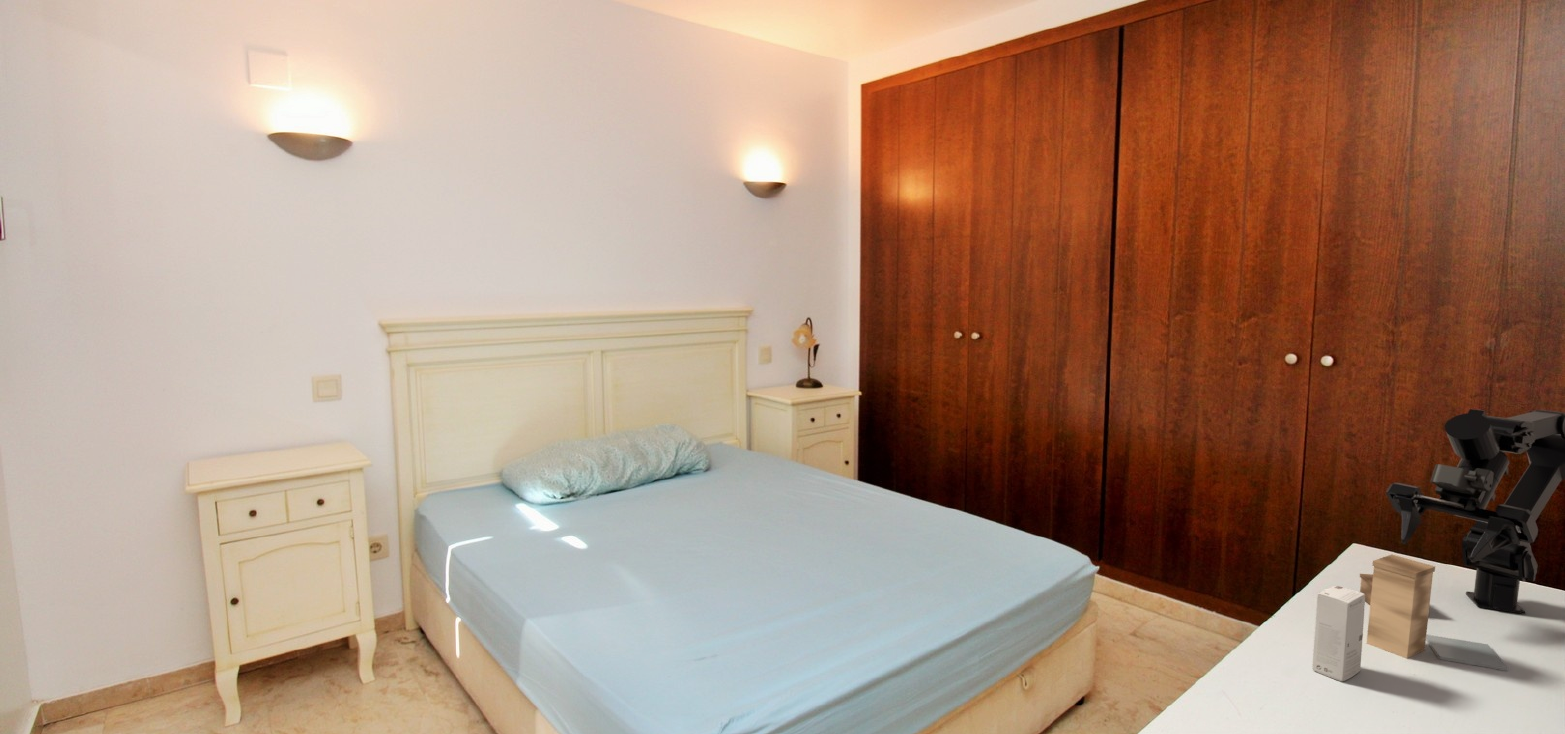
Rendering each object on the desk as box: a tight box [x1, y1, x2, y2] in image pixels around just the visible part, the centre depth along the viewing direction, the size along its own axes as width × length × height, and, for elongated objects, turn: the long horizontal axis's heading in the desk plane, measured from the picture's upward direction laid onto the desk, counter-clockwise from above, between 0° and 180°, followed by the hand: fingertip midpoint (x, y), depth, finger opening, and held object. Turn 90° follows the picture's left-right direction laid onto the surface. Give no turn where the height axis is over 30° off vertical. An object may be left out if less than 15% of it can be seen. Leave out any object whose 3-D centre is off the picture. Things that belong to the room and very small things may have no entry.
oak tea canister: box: [1366, 554, 1436, 659], centre depth 121 cm, size 6×6×14 cm
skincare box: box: [1311, 585, 1366, 682], centre depth 114 cm, size 6×4×12 cm
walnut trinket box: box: [1359, 573, 1373, 606], centre depth 137 cm, size 6×6×5 cm
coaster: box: [1426, 633, 1508, 672], centre depth 120 cm, size 8×8×1 cm
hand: (1436, 551), depth 125 cm, fingers open, 9 cm apart
